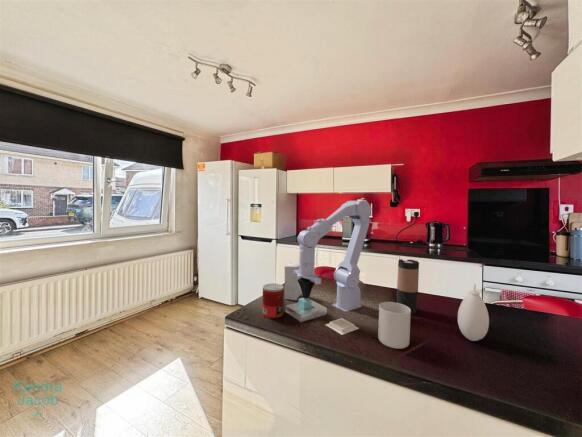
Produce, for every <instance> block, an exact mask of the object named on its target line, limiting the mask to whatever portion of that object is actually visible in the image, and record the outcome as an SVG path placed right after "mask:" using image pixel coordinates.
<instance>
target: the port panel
mask: <svg viewBox="0 0 582 437" xmlns="http://www.w3.org/2000/svg"><path fill="white" fill-rule="evenodd" d="M311 300H312V299H311ZM327 310H328V308H327V307H326V306H324V305H322V304H320V303H318V302H316V301H315V300H312V302H311V309H308V310H303V309H301V308H300V307H298V302H294V303H291V304H286V305H285V312H286V313H287V314H288V315H290V316H291V317H293V318H294V319H296V320H297V321H299V322H300V323H302V322H305V321H309V320H312V319H316V318H319V317H322V316H325V315H326V316H327V312H328V311H327Z"/></svg>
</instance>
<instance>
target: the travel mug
mask: <svg viewBox="0 0 582 437" xmlns="http://www.w3.org/2000/svg"><path fill="white" fill-rule="evenodd" d="M397 262H398V263H397V280H396V281H397V283H396V284H397V286H396V303H400V304H403V305H405V306H407V307H409V308H410V310H411V315H414V314H416V313H417V310H418V295H419V277H420V276H419V275H420V262H419V261H418V260H414V259H407V260H404V259H398V261H397Z"/></svg>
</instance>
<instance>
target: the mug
mask: <svg viewBox="0 0 582 437" xmlns="http://www.w3.org/2000/svg"><path fill="white" fill-rule="evenodd" d="M411 315H412V314H411V310H410V308H409V307H407V306H405V305H403V304H400V303H397V302H394V301H384V302H381V303H379V304H378V321H377V322H378V323H377V324H378V325H377V326H378V327H377V328H378V331H377V338H378V340H379V342H380V343H381V344H382V345H383V346H386V347H389V348H391V349H396V350H398V349H399V350H400V349H401V350H402V349H405V348H408V347H409V345H410V337H411V336H410V334H411Z"/></svg>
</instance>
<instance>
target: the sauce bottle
mask: <svg viewBox="0 0 582 437" xmlns="http://www.w3.org/2000/svg"><path fill="white" fill-rule="evenodd" d="M457 324H458V329H459V330H460V332H461V334H462V335H463V336H464V337H465V338H466V339H468V341H471V342H476V341H477V342H478V341H479V340H482V339H484V338H485V336H487V333H488V332H489V326H490V317H489V311H488V308H487V306H486V303H485V302H484V300H483V298H482V297H481V296H480V292H479V291H477V290H476V283H474V284H473V290H470V291H469V292H468V294H467V295H465V296H464V297H463V300H462V301H461V302H460V305H459V307H458V311H457Z"/></svg>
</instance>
